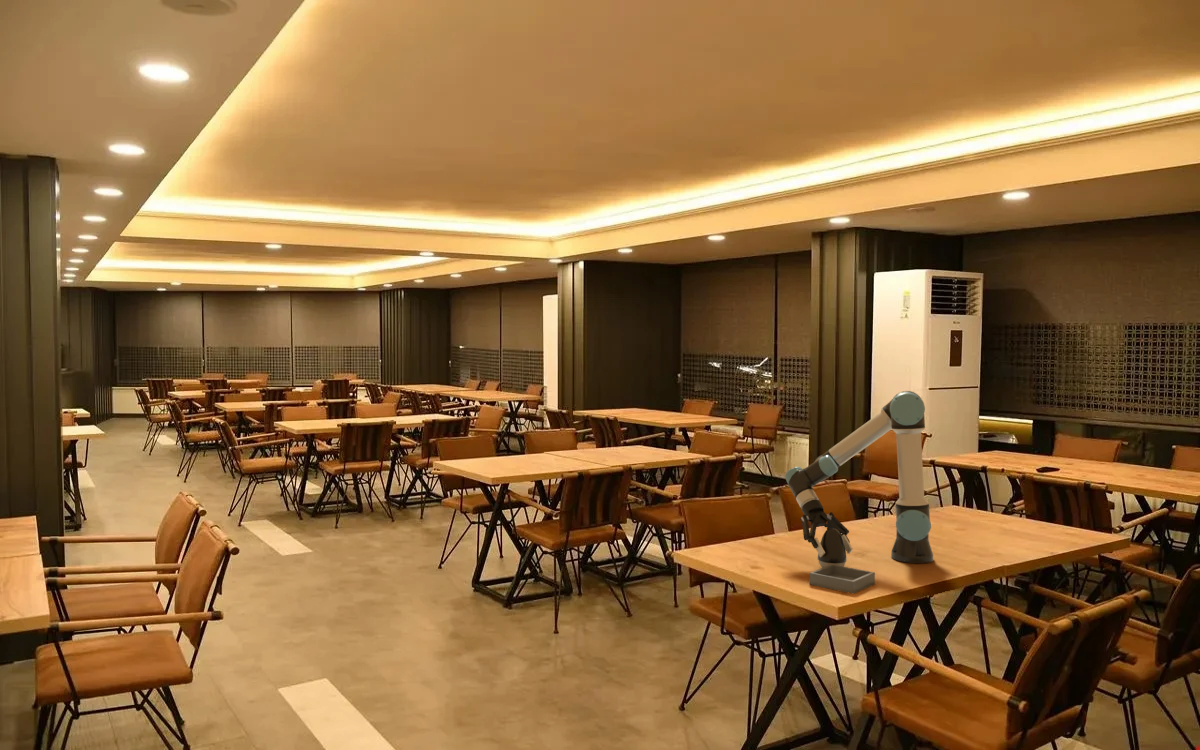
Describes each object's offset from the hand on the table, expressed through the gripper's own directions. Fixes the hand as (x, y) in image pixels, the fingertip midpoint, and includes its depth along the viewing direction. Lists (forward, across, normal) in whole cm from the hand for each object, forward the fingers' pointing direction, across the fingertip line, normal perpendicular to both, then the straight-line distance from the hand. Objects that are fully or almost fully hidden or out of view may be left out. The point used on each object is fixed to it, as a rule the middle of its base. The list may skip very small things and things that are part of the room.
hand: (836, 553), depth 307 cm
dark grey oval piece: (+3, 0, -6) cm, 7 cm away
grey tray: (+15, +10, +6) cm, 19 cm away
